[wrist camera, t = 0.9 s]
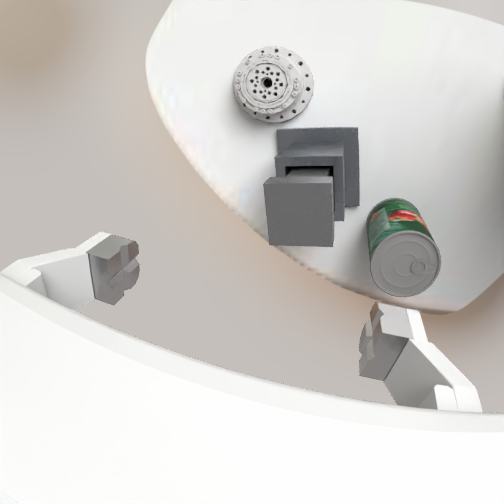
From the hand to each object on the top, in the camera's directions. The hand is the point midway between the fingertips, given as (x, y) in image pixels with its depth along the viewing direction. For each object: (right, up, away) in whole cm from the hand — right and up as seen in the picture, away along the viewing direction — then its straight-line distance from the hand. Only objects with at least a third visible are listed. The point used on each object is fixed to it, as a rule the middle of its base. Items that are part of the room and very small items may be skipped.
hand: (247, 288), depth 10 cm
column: (+8, +12, +28) cm, 31 cm away
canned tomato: (+19, +5, +29) cm, 35 cm away
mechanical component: (+3, +22, +26) cm, 34 cm away
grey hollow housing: (+9, +12, +29) cm, 32 cm away
